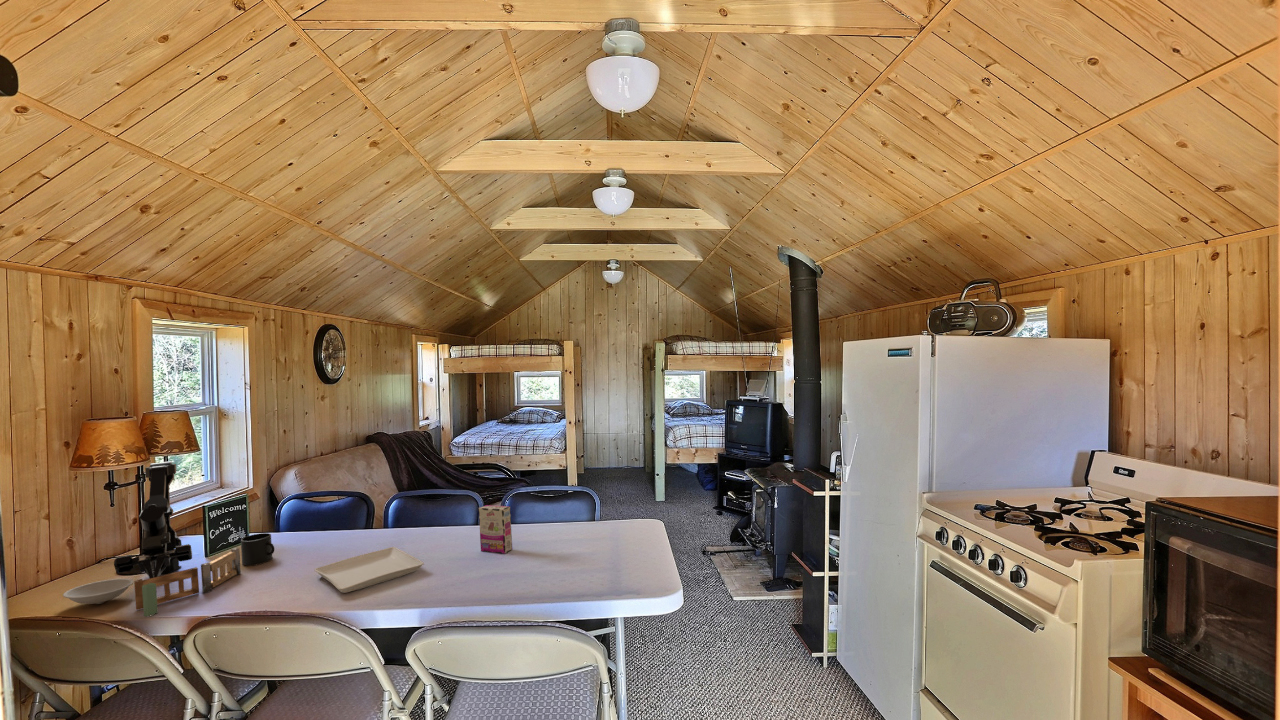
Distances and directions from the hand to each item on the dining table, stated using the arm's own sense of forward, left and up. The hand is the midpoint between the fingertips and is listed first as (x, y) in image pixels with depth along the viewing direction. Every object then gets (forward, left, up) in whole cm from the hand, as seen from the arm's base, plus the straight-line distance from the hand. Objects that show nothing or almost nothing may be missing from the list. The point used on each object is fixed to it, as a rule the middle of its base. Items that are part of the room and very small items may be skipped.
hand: (153, 582), depth 180 cm
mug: (+10, +35, -7) cm, 37 cm away
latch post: (+5, -7, -7) cm, 11 cm away
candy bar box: (+98, +34, -7) cm, 104 cm away
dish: (-20, +3, -7) cm, 21 cm away
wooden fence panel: (+10, +16, -7) cm, 20 cm away
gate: (+3, +2, -6) cm, 7 cm away
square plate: (+59, +16, -7) cm, 62 cm away
